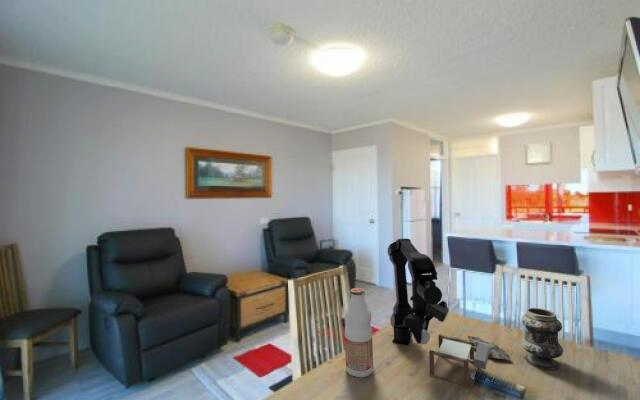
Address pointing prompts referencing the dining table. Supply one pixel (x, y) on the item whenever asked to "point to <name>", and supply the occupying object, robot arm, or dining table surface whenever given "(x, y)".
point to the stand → (452, 364)
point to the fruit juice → (358, 336)
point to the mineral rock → (490, 348)
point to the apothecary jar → (541, 338)
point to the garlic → (424, 337)
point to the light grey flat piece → (466, 352)
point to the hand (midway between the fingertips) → (421, 339)
